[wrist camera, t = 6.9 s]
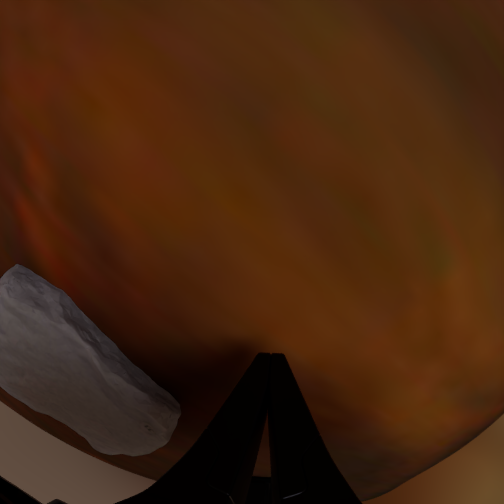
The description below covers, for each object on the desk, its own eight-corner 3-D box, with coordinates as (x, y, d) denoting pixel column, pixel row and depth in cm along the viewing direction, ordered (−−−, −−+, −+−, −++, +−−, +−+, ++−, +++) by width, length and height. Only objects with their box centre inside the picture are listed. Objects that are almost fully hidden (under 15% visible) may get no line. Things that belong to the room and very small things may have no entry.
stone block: (36, 224, 11) (3, 332, 14) (-25, 263, 7) (-30, 374, 9) (215, 360, 15) (135, 425, 17) (211, 432, 10) (123, 477, 13)
